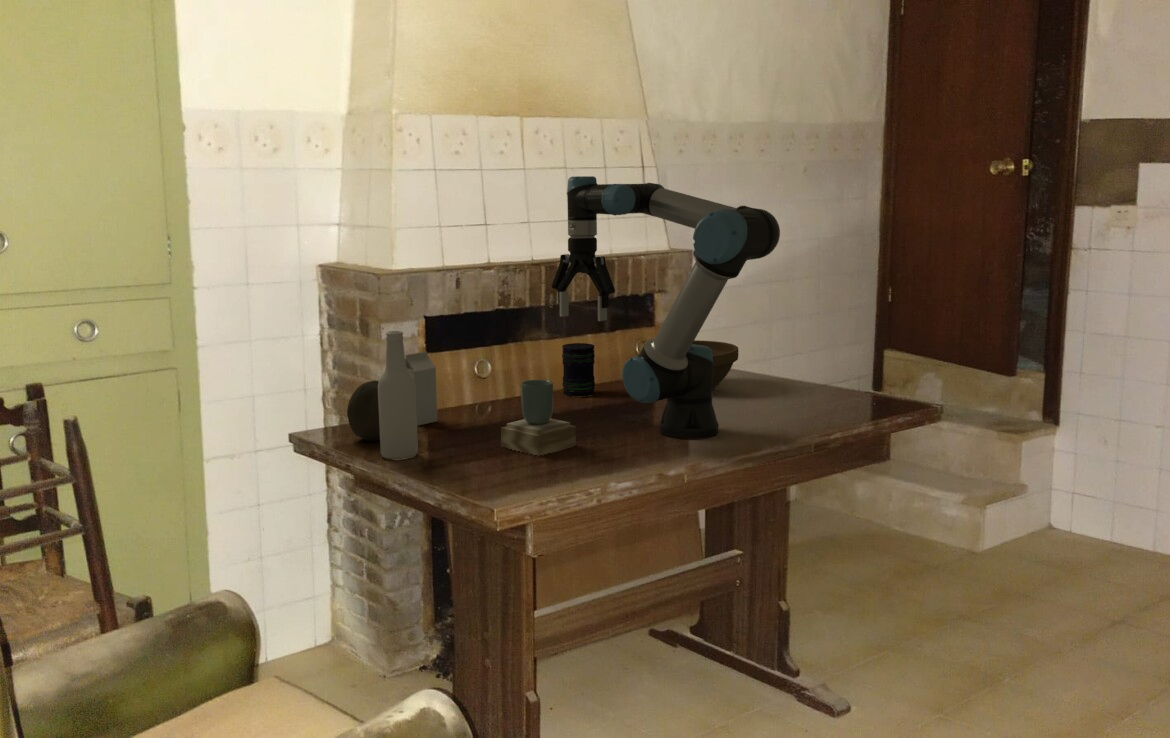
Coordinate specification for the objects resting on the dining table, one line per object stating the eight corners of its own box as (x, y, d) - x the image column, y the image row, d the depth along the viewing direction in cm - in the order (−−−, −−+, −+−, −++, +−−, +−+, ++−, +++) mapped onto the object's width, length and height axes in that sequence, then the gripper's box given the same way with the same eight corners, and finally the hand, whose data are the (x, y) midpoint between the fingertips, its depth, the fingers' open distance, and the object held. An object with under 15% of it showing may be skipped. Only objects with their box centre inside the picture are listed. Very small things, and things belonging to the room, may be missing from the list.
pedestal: (575, 446, 260) (575, 422, 258) (538, 456, 250) (538, 432, 249) (538, 437, 268) (538, 414, 267) (501, 447, 259) (500, 423, 258)
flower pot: (670, 401, 309) (670, 357, 306) (631, 383, 335) (631, 343, 333) (755, 393, 319) (756, 350, 317) (710, 377, 345) (711, 337, 343)
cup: (549, 427, 254) (549, 386, 252) (518, 425, 255) (517, 385, 253) (556, 419, 261) (556, 380, 260) (526, 418, 263) (525, 379, 261)
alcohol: (411, 461, 247) (406, 335, 241) (375, 460, 248) (369, 334, 243) (422, 451, 255) (418, 329, 250) (388, 450, 257) (383, 328, 251)
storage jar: (594, 397, 315) (594, 348, 312) (562, 397, 315) (561, 348, 312) (595, 390, 325) (594, 342, 322) (563, 390, 325) (562, 343, 322)
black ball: (371, 449, 258) (369, 389, 255) (337, 440, 267) (334, 382, 264) (416, 438, 268) (414, 380, 265) (382, 430, 277) (379, 374, 274)
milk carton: (437, 421, 286) (435, 352, 282) (416, 426, 281) (414, 356, 277) (421, 417, 291) (418, 350, 287) (400, 422, 286) (397, 353, 282)
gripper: (537, 235, 277) (539, 315, 281) (609, 239, 261) (609, 324, 265) (557, 234, 283) (558, 312, 287) (628, 237, 266) (628, 320, 270)
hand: (583, 318), depth 276 cm, fingers open, 13 cm apart
